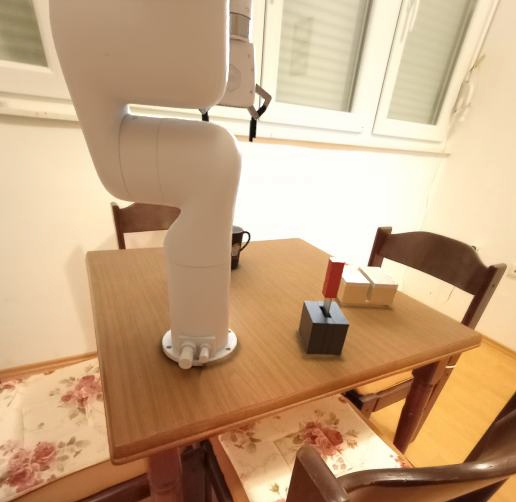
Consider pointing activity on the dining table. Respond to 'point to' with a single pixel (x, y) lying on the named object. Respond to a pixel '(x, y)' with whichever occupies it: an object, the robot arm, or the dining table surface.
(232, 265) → the coffee mug
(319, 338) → the knife block
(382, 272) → the beige rectangular box
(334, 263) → the knife
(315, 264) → the dining table surface
